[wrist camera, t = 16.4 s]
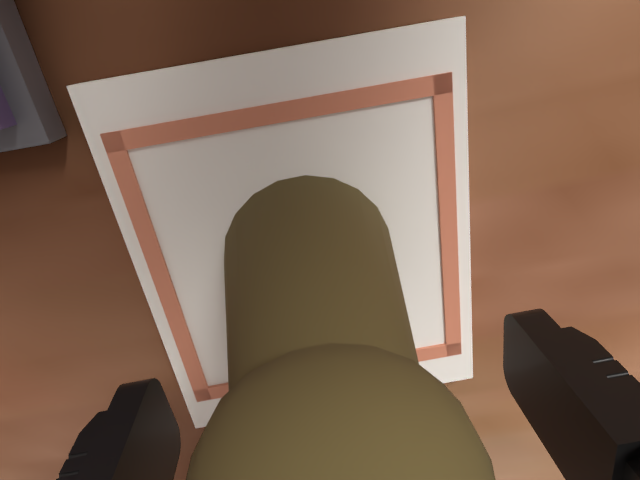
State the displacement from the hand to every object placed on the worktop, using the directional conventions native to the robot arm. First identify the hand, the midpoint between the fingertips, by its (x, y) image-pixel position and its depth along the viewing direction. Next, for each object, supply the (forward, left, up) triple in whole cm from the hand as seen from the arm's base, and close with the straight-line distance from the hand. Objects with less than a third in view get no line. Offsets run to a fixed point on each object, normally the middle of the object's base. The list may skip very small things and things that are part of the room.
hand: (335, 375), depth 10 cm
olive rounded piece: (0, 0, -7) cm, 7 cm away
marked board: (0, 0, -7) cm, 7 cm away
